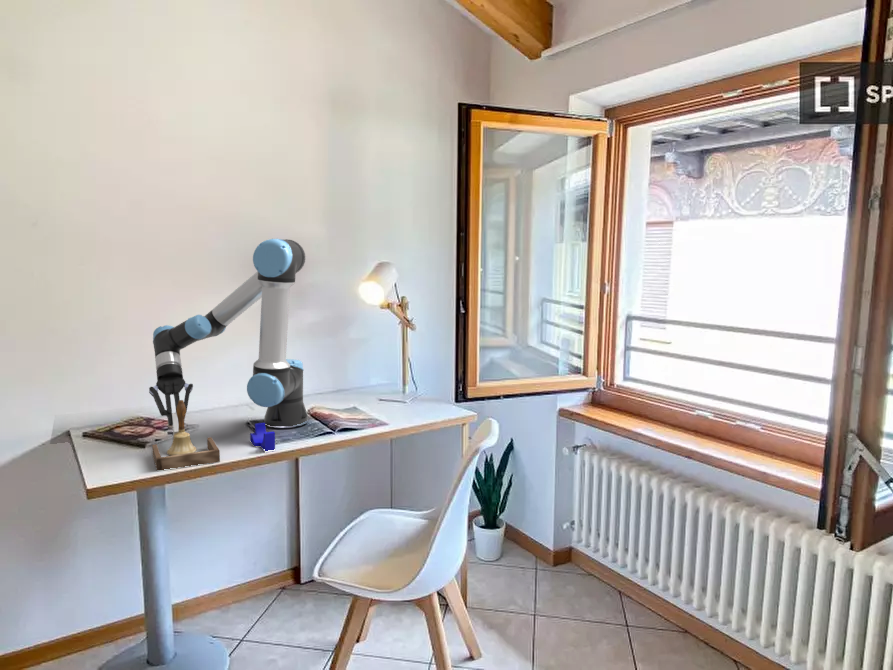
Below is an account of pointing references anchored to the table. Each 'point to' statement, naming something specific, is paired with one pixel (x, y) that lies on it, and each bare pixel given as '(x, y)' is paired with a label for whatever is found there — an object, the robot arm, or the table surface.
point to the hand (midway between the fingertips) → (176, 433)
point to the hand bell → (181, 435)
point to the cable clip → (263, 437)
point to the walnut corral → (187, 457)
